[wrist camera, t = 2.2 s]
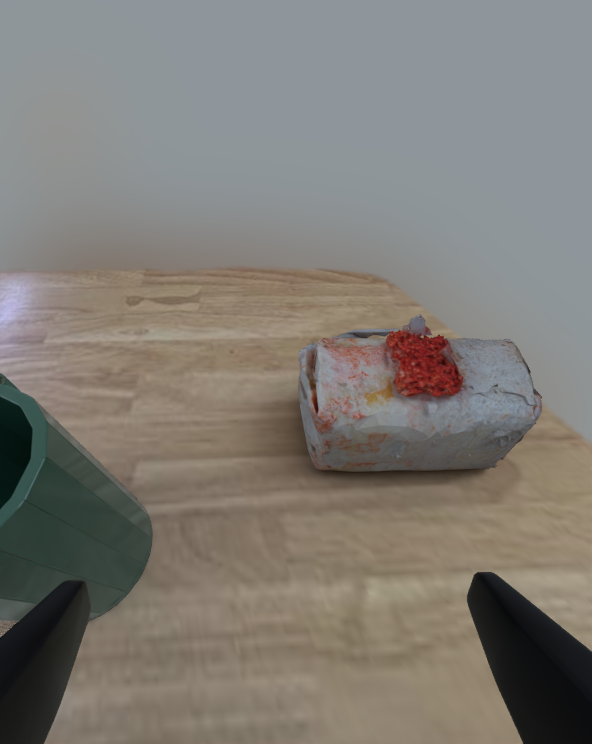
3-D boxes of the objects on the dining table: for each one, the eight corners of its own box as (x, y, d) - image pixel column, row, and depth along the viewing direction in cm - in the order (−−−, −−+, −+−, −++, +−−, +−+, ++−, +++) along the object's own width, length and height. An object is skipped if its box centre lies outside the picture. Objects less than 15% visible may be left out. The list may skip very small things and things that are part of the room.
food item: (299, 486, 24) (306, 411, 16) (296, 389, 29) (299, 296, 21) (495, 482, 25) (594, 407, 17) (460, 387, 29) (523, 295, 22)
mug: (160, 591, 20) (42, 544, 10) (17, 650, 19) (-287, 659, 9) (140, 442, 26) (51, 319, 16) (29, 476, 24) (-148, 362, 14)
